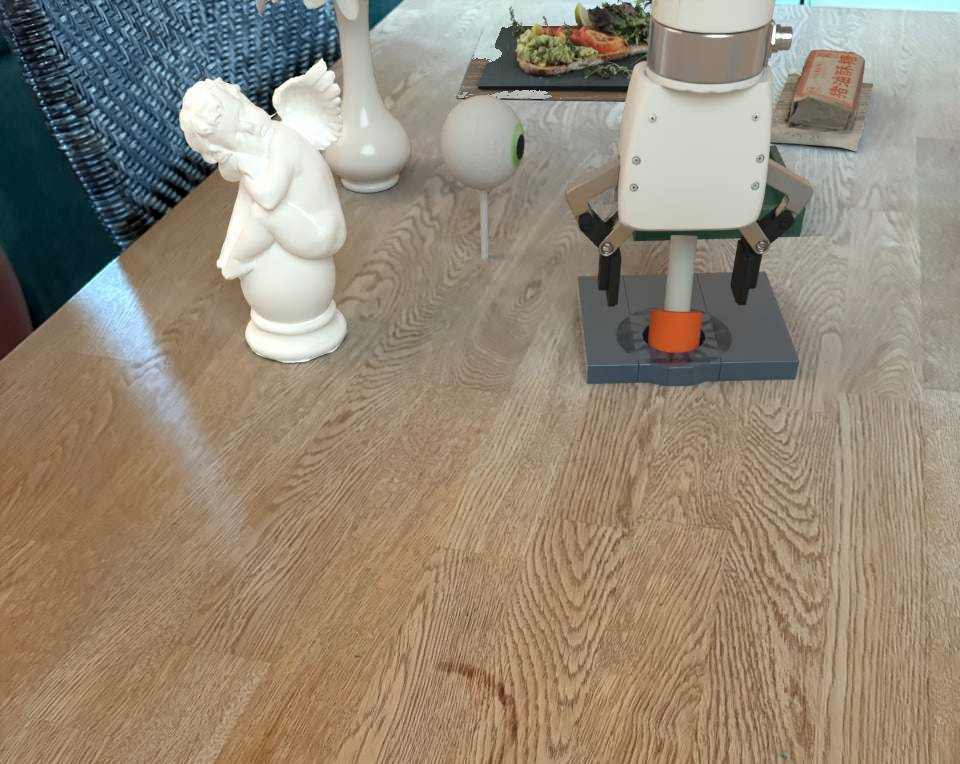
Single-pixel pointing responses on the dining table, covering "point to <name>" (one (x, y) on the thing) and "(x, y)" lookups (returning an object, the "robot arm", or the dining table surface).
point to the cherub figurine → (278, 206)
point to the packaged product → (824, 102)
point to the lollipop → (482, 148)
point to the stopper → (677, 302)
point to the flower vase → (361, 109)
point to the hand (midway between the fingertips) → (674, 297)
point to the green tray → (769, 203)
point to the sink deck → (723, 339)
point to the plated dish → (567, 56)
